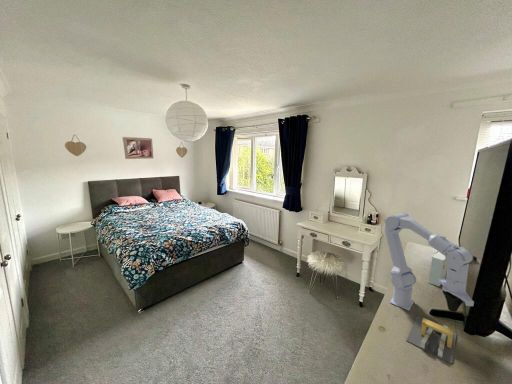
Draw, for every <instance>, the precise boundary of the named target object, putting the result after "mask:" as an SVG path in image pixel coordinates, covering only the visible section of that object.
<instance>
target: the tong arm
mask: <svg viewBox="0 0 512 384" xmlns="http://www.w3.org/2000/svg"><path fill="white" fill-rule="evenodd" d="M433 331H434V329H431V328H429V329H428V331H427V332H426V334H425V336H424V337H423V339H422V341H421V346H420V347H422V348H423V349H425V350H427V351H428V349H429V346H430V342H429V340H430V338H431V336H432V334H433ZM423 349H422V350H423ZM425 350H424V351H425ZM427 351H426V352H427Z"/></svg>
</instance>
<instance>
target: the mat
mask: <svg viewBox="0 0 512 384" xmlns="http://www.w3.org/2000/svg"><path fill="white" fill-rule="evenodd" d="M422 321H423V318H422V317H420V316H415V319H414V321H413V323H412V327H411V329H410V330H409V331H410V332H409V333H408V336H407V339H406V342H407V343H409V344H411V345H413V346H415V347H417V348H419V349H421V350H423V351H425V352H427V353H429V354H431V355H433V356H435V357H437V358H439V359H441V360H443V361H445V362H447V363H449V364H451V365H452V364H453V360H454V355H455V346H456V341H457V335H458V333H457V332H456V331H454V332H453V339H452V346H451V348H449V347H447V340H448V336H446V341H445V346H444V351H443V356H442V358H441V357H439V356H437V355H435V354H434V347H435V344H437V345H440V340H441V336H442V335H438V334H436V333H435V330H434V331H433V334H432V336H431V338H430V340H429V342H430V346H429V349H428V351H427V350H425V349H423V348H422V347H420V346H421V341H422V339H423V337H424V336H423V335H421V327H422ZM428 329H429V327H426V332H427V331H428ZM425 334H426V333H425Z"/></svg>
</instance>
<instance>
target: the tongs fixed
mask: <svg viewBox="0 0 512 384" xmlns="http://www.w3.org/2000/svg"><path fill="white" fill-rule="evenodd" d="M443 326H444V327H446V328H449V326H447V325H445V324H444V325H443ZM435 333H436V334H438V335H442V336H441V340H440V345H437V344H435V347H434V354H435V355H437V356H439V357H441V358H442V356H443V351H444V346H445V341H446V336H447V335H445V334H443V333H441V332H438V331H436V330H435ZM435 355H434V356H435ZM437 356H436V357H437ZM439 357H438V358H439ZM441 358H440V359H441Z"/></svg>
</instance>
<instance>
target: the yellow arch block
mask: <svg viewBox="0 0 512 384" xmlns="http://www.w3.org/2000/svg"><path fill="white" fill-rule="evenodd" d="M422 319H423V321H422V327H421V335H423V336H425V333H426V327H429V328H431V329H434V330H436V331H438V332H441V333H443V334H445V335H447V336H448V340H447V347H449V348H451V346H452V339H453V332H455V331H454V330H453V329H451V328H449V327H448V328H446V327H444V325H441V324H438V323H436V322H434V321H431V320H429V319H427V318H424V317H423V318H422Z"/></svg>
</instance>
